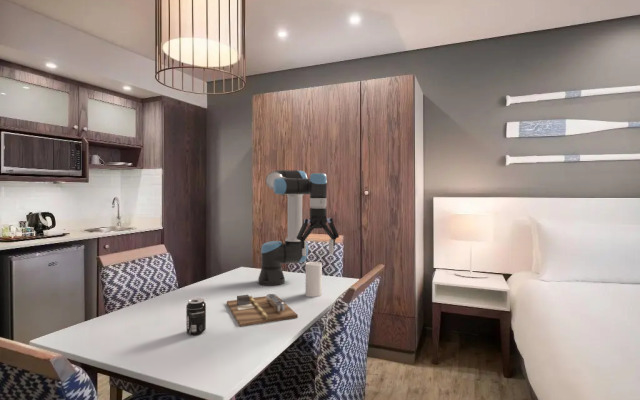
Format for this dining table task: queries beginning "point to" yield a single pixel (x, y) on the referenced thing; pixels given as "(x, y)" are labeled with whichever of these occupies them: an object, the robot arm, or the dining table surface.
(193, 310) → the beverage can
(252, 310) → the door board
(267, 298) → the bar
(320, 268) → the cup
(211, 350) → the dining table surface
